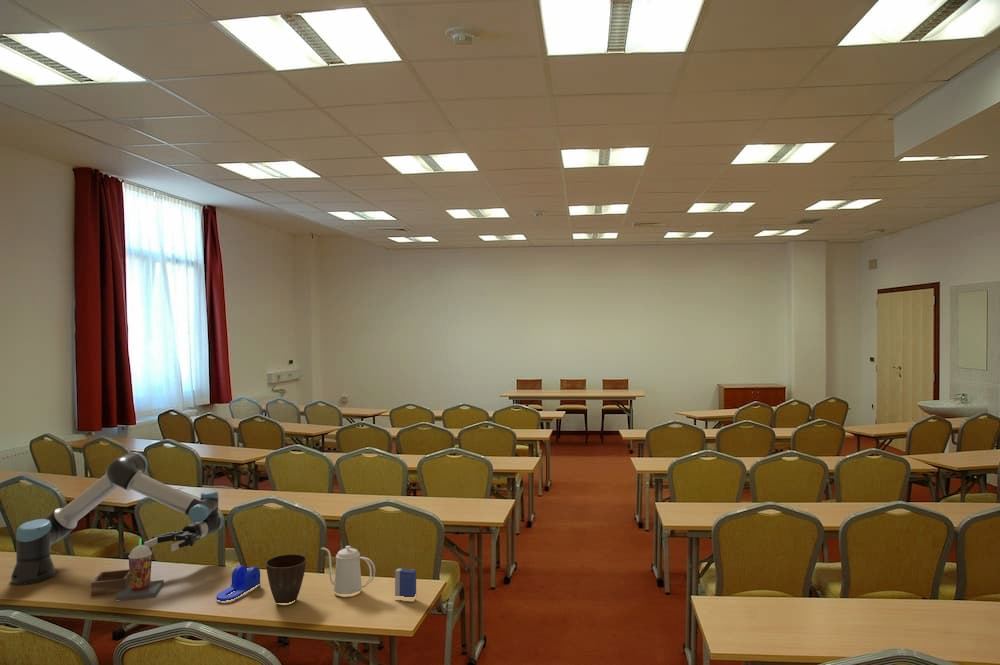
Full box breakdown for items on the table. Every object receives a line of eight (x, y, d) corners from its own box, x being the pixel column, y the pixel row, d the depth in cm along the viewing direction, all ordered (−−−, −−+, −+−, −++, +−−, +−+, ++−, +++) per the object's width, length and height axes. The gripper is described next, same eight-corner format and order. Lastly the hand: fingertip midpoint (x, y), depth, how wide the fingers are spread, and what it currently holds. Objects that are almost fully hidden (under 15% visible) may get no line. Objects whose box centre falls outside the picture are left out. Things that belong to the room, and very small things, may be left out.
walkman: (416, 599, 240) (416, 569, 240) (413, 602, 237) (413, 571, 237) (397, 597, 242) (397, 567, 242) (394, 600, 239) (394, 569, 239)
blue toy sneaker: (243, 584, 255) (243, 562, 256) (260, 586, 253) (260, 565, 253) (211, 602, 238) (211, 579, 238) (229, 604, 236) (229, 581, 236)
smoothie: (123, 590, 245) (123, 540, 245) (141, 583, 253) (141, 534, 253) (138, 593, 242) (139, 543, 242) (156, 585, 250) (157, 536, 250)
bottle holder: (101, 584, 256) (101, 572, 256) (133, 580, 259) (133, 568, 259) (90, 595, 244) (90, 582, 244) (124, 591, 248) (125, 579, 248)
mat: (125, 587, 252) (125, 583, 252) (163, 583, 256) (163, 579, 256) (115, 601, 239) (115, 597, 239) (155, 596, 243) (155, 593, 243)
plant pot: (287, 591, 248) (287, 551, 248) (314, 598, 241) (314, 557, 241) (257, 605, 235) (257, 563, 235) (285, 613, 228) (285, 570, 228)
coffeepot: (327, 584, 255) (327, 538, 256) (381, 591, 248) (381, 544, 248) (312, 594, 245) (312, 547, 245) (367, 602, 238) (367, 553, 238)
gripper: (218, 541, 274) (183, 558, 254) (171, 537, 280) (133, 553, 260) (218, 525, 274) (183, 540, 254) (171, 521, 280) (133, 535, 260)
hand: (158, 547), depth 257 cm, fingers open, 13 cm apart
